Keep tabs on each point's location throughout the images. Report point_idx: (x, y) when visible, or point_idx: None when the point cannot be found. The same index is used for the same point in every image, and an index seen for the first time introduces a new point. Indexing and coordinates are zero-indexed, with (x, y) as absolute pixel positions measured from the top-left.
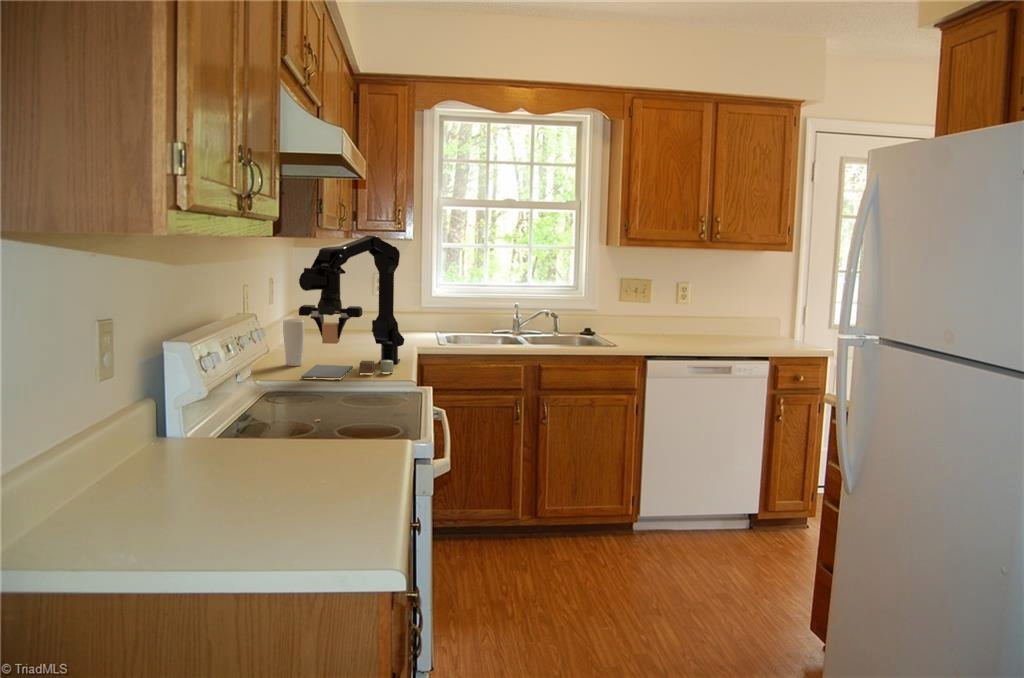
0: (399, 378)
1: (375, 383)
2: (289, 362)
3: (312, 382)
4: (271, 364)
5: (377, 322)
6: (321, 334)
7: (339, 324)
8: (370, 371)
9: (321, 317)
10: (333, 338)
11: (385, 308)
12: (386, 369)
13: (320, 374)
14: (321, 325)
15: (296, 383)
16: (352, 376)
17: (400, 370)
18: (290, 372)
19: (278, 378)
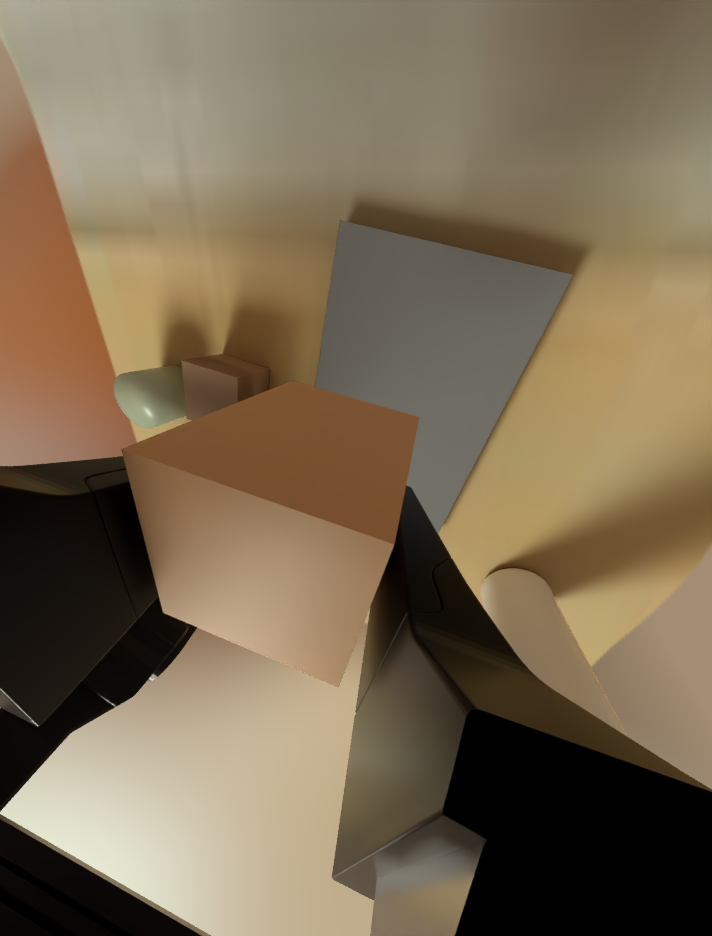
0: (112, 278)
1: (171, 136)
2: (544, 585)
3: (515, 166)
4: (604, 619)
5: (98, 675)
6: (416, 504)
7: (104, 481)
8: (217, 358)
9: (378, 793)
10: (299, 401)
11: None
12: (159, 369)
13: (444, 321)
14: (406, 572)
15: (644, 119)
16: (295, 341)
17: (153, 431)
18: (570, 469)
19: (707, 322)
